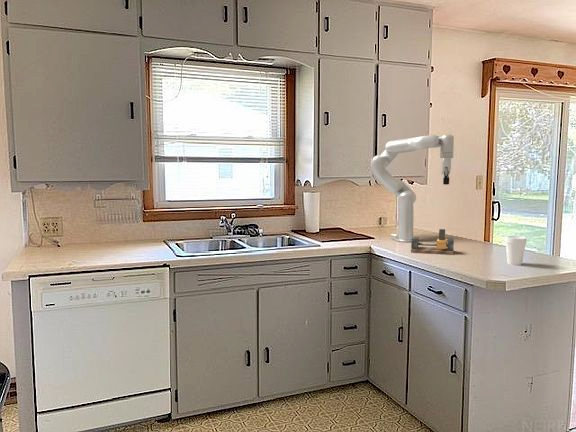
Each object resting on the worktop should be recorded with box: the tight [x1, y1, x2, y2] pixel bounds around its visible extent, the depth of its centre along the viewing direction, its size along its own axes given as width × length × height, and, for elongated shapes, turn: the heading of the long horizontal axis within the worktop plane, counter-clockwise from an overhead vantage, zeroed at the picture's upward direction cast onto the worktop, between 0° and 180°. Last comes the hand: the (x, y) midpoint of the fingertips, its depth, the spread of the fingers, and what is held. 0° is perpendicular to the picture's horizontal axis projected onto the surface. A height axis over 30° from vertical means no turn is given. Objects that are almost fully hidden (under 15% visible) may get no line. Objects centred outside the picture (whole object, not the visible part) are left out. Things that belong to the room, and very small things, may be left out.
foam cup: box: [504, 235, 527, 266], centre depth 231 cm, size 10×9×13 cm
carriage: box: [436, 228, 448, 249], centre depth 263 cm, size 5×7×10 cm
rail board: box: [410, 236, 455, 256], centre depth 265 cm, size 22×12×8 cm, turn 69°
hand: (446, 184), depth 290 cm, fingers open, 9 cm apart
